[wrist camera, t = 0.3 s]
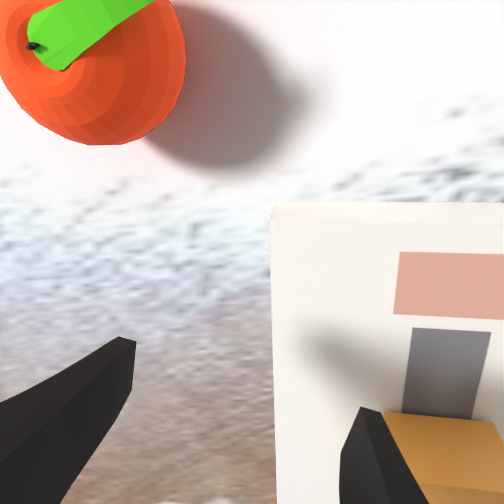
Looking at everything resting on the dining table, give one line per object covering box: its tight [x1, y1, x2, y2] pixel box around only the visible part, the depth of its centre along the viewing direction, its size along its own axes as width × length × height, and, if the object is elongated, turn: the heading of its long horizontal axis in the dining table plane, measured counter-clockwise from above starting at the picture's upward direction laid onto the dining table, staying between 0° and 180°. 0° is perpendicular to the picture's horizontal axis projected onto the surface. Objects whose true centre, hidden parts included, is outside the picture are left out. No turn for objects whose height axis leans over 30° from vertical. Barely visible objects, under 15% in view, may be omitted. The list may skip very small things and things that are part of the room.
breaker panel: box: [269, 201, 504, 504], centre depth 21 cm, size 22×16×3 cm
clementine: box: [0, 0, 186, 145], centre depth 15 cm, size 8×7×7 cm
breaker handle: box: [383, 412, 504, 504], centre depth 18 cm, size 2×5×4 cm, turn 93°
